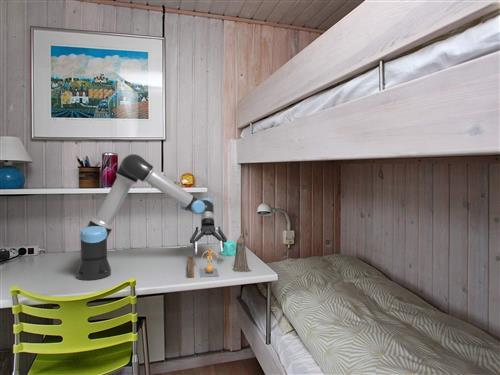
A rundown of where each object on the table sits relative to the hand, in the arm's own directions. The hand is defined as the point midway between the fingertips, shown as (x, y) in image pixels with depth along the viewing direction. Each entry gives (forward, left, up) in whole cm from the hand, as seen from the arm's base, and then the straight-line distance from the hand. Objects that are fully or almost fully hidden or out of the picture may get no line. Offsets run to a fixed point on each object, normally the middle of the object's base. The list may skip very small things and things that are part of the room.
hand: (209, 252), depth 176 cm
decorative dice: (+14, +25, -8) cm, 30 cm away
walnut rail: (-10, -3, -8) cm, 13 cm away
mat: (-1, -11, -8) cm, 13 cm away
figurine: (0, -11, -8) cm, 13 cm away
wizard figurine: (+17, -8, -8) cm, 20 cm away
